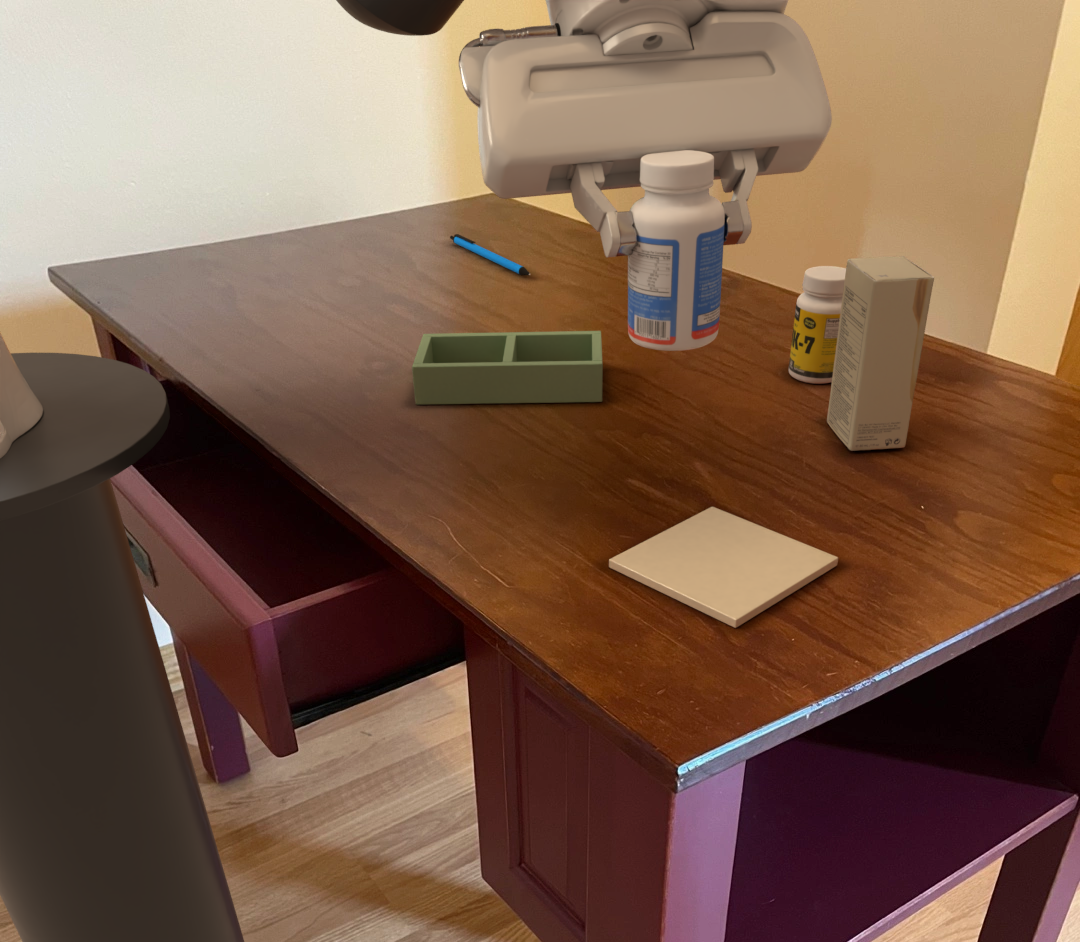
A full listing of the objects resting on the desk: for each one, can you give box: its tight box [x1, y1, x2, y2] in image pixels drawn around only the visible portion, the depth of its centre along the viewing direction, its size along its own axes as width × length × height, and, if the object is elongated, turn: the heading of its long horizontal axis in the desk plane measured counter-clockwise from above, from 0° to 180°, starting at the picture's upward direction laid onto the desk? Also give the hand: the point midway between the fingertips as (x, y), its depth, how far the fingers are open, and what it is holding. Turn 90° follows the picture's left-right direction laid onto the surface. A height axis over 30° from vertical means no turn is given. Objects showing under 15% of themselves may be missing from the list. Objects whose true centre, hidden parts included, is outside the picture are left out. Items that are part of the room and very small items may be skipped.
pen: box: [449, 233, 531, 276], centre depth 123 cm, size 1×19×1 cm, turn 30°
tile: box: [608, 506, 839, 629], centre depth 67 cm, size 10×10×1 cm
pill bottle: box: [627, 150, 725, 352], centre depth 62 cm, size 6×5×10 cm
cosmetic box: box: [826, 255, 935, 452], centre depth 79 cm, size 6×4×12 cm
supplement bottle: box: [788, 265, 846, 385], centre depth 90 cm, size 5×5×8 cm
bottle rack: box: [411, 330, 604, 406], centre depth 91 cm, size 8×15×3 cm, turn 88°
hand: (680, 245), depth 61 cm, fingers closed on pill bottle, 5 cm apart
